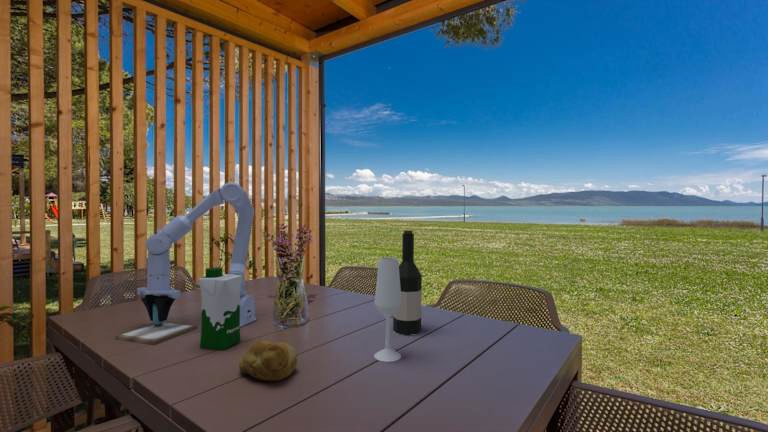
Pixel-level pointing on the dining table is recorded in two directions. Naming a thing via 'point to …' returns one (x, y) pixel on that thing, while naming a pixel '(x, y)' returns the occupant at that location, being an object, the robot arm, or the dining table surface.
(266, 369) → the bread roll
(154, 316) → the marker
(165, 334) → the writing board
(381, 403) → the dining table surface
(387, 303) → the champagne flute
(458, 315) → the dining table surface
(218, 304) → the milk carton
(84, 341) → the dining table surface
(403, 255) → the wine bottle
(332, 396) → the dining table surface
